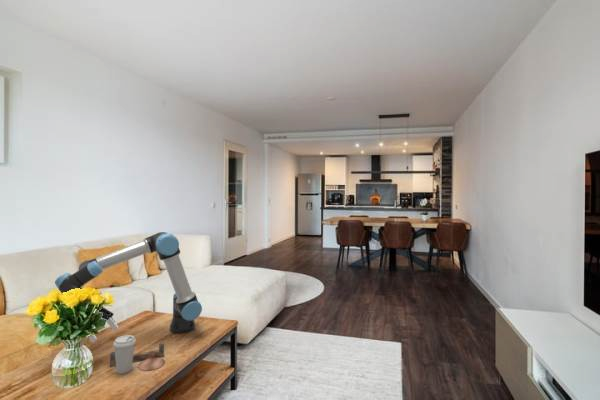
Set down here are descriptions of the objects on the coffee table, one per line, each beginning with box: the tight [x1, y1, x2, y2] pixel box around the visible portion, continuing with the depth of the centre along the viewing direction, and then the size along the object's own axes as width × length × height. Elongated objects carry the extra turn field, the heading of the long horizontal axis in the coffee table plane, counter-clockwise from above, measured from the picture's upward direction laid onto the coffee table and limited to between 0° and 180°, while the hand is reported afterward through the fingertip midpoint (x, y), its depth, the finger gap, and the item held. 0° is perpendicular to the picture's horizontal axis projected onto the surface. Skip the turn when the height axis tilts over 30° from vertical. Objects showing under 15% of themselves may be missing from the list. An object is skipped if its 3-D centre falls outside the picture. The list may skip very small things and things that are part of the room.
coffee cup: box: [112, 334, 137, 375], centre depth 154 cm, size 10×10×15 cm
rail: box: [109, 343, 166, 372], centre depth 158 cm, size 24×15×6 cm, turn 118°
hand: (106, 334), depth 155 cm, fingers open, 13 cm apart
